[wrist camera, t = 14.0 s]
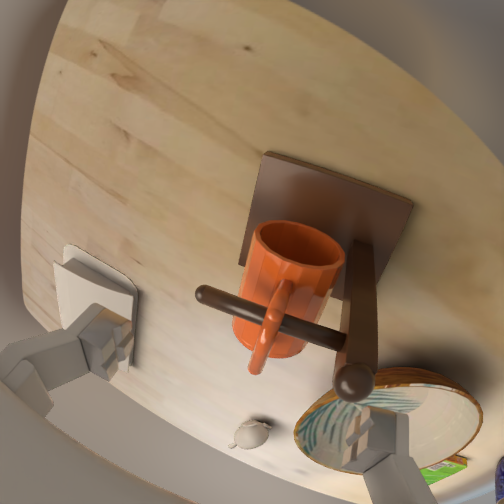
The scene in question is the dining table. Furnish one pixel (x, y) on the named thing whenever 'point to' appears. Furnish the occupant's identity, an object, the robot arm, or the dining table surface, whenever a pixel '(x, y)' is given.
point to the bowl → (403, 401)
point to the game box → (443, 469)
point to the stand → (352, 273)
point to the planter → (499, 482)
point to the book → (93, 290)
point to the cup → (285, 285)
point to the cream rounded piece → (250, 435)
